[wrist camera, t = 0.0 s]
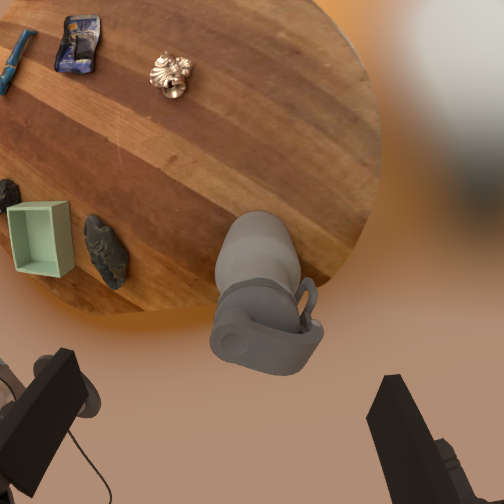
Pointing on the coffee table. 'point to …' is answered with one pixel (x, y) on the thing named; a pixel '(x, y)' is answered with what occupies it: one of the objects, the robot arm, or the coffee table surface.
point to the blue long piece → (13, 60)
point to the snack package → (78, 44)
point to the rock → (8, 195)
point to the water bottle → (263, 299)
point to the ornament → (170, 74)
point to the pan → (41, 237)
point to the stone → (105, 252)
